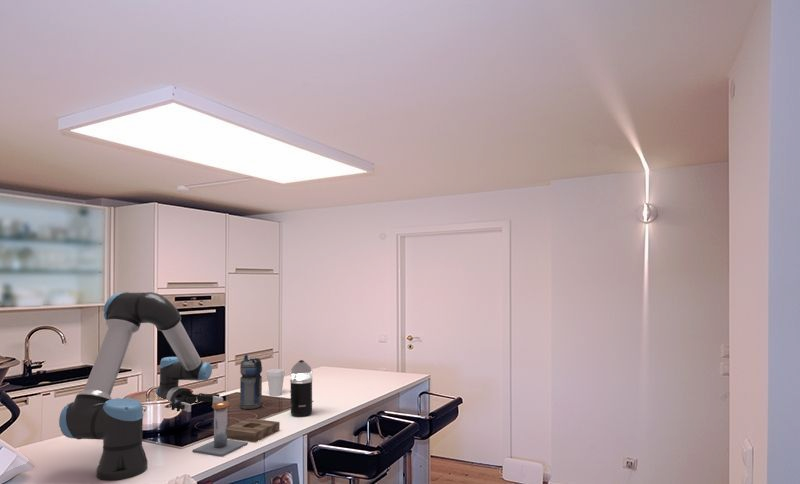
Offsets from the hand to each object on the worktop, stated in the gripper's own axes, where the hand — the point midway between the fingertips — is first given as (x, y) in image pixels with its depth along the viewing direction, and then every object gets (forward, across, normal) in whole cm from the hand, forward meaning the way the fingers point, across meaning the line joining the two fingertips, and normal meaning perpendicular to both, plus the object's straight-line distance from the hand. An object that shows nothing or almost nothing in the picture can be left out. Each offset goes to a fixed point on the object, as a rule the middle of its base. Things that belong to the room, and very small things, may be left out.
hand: (206, 404), depth 202 cm
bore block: (+5, -17, -14) cm, 23 cm away
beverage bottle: (-31, -42, -14) cm, 54 cm away
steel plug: (+10, 0, -14) cm, 17 cm away
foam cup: (-43, -65, -13) cm, 79 cm away
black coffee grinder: (-2, -49, -14) cm, 51 cm away
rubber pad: (+10, 0, -15) cm, 18 cm away
